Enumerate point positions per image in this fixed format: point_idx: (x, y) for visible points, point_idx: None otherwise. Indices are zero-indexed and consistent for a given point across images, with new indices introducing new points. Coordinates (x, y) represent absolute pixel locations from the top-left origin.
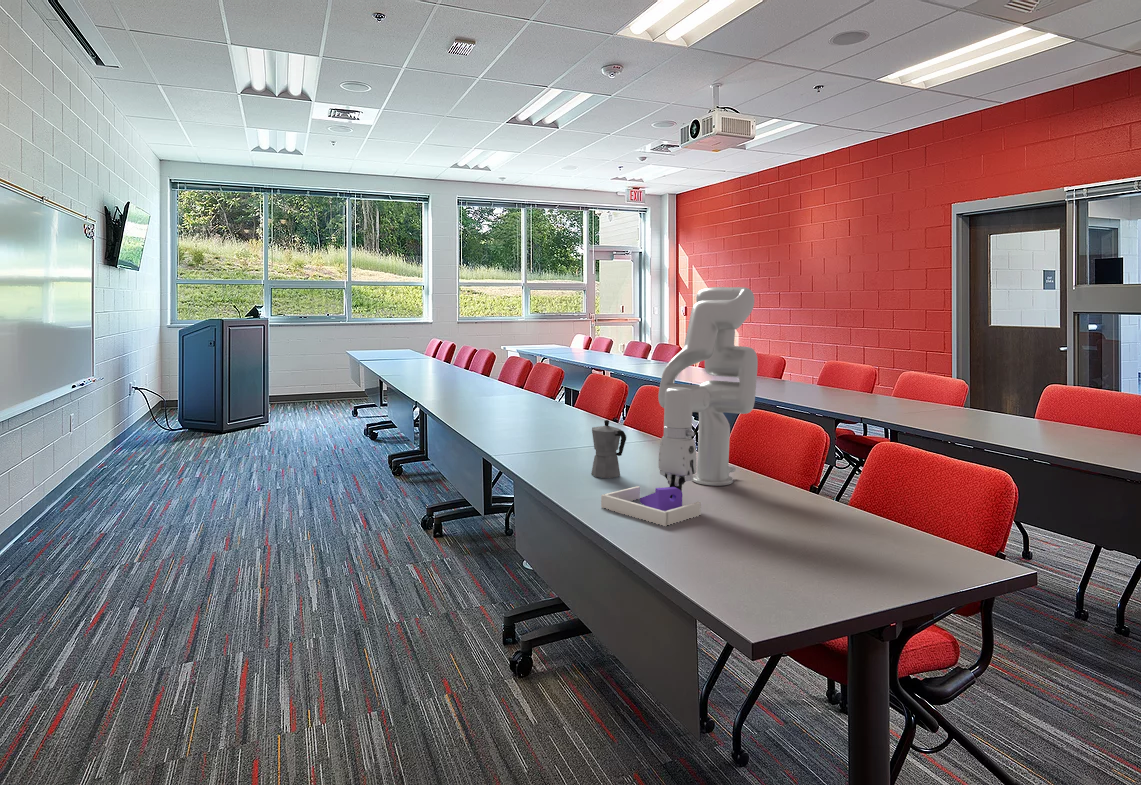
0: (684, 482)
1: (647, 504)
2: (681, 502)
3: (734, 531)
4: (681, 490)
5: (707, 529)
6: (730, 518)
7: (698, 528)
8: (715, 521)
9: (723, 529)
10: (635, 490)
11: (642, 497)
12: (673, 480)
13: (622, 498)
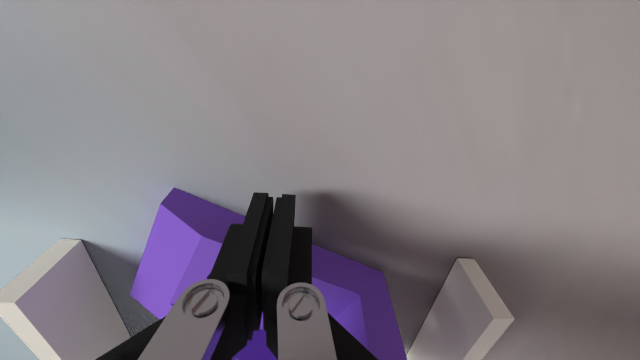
0: (346, 332)
1: None
2: (393, 320)
3: (634, 312)
4: (311, 258)
5: (534, 339)
6: (627, 209)
7: (504, 346)
8: (553, 276)
9: (591, 317)
10: (51, 314)
11: (157, 315)
12: (222, 350)
13: (108, 343)
